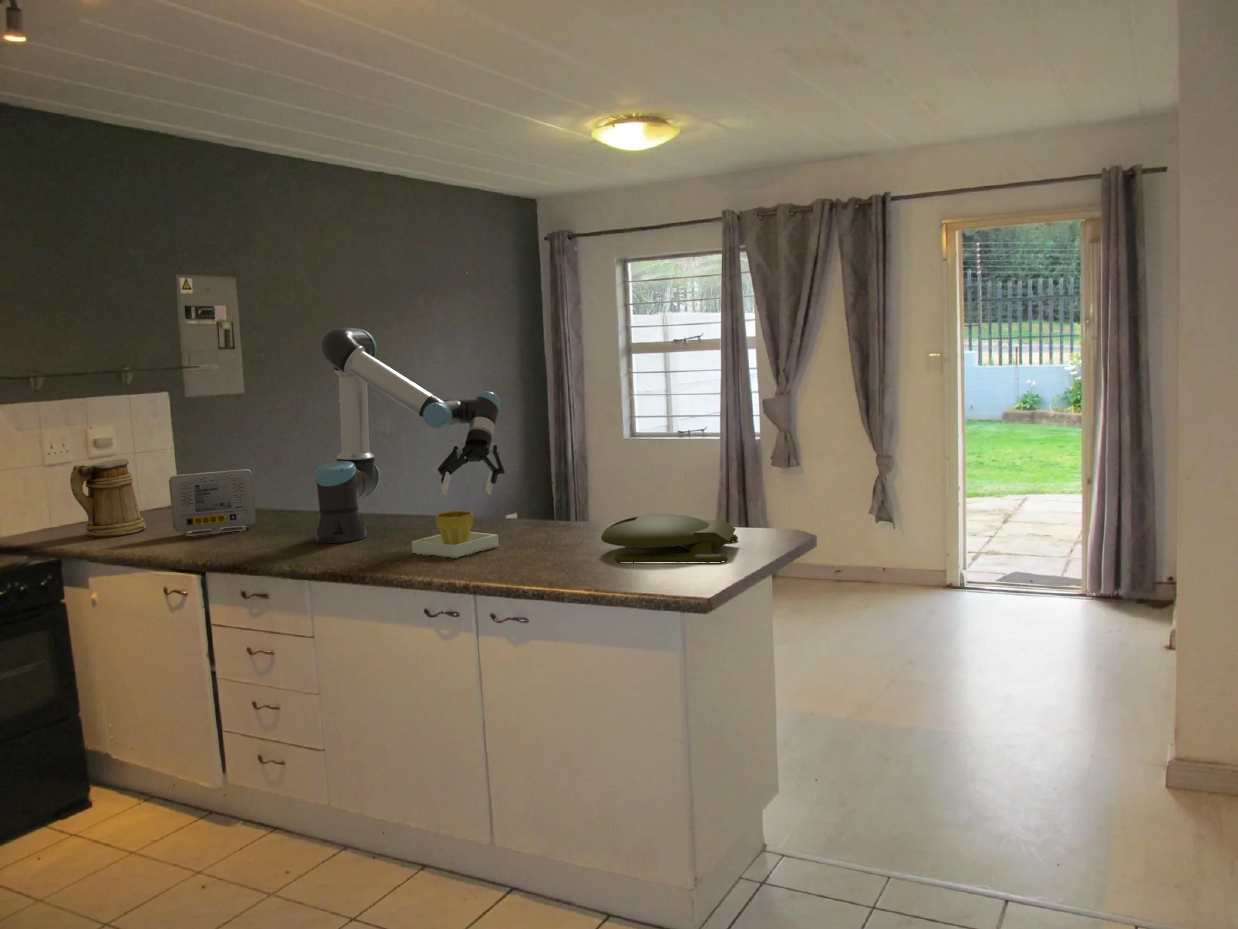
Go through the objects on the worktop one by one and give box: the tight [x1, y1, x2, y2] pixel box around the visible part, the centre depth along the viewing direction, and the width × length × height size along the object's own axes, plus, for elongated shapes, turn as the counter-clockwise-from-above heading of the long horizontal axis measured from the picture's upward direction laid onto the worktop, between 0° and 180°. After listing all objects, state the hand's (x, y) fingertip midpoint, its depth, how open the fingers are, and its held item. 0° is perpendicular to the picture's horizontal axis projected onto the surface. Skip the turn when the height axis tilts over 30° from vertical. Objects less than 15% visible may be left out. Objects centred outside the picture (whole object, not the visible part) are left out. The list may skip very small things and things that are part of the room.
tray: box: [411, 531, 500, 559], centre depth 279 cm, size 17×17×4 cm
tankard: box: [69, 458, 147, 538], centre depth 336 cm, size 18×24×25 cm
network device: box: [168, 468, 257, 537], centre depth 330 cm, size 26×9×20 cm, turn 111°
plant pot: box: [435, 510, 474, 545], centre depth 279 cm, size 10×10×10 cm
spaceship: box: [600, 513, 739, 563], centre depth 263 cm, size 35×31×10 cm
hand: (465, 492), depth 288 cm, fingers open, 13 cm apart
